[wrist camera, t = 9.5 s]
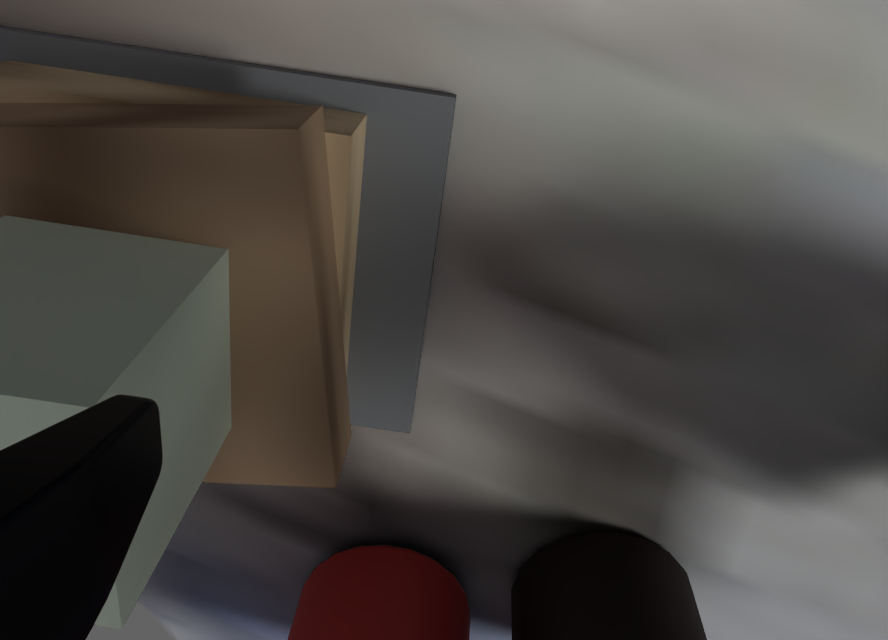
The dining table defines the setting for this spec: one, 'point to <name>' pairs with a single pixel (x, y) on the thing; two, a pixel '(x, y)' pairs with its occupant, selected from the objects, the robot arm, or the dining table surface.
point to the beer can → (381, 598)
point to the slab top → (218, 225)
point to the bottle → (604, 592)
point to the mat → (381, 205)
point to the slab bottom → (340, 126)
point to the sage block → (118, 356)
